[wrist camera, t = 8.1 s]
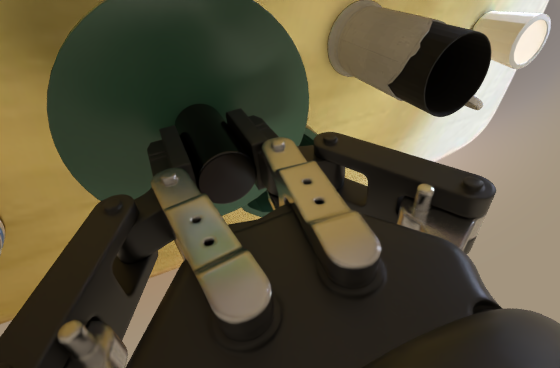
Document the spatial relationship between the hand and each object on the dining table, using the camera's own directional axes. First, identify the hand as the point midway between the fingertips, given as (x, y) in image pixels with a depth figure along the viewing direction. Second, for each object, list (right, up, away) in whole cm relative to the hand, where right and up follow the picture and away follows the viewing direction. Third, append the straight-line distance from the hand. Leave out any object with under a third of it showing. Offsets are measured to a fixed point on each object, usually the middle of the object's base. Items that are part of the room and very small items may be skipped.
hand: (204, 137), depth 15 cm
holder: (+15, +15, +26) cm, 34 cm away
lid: (-1, +1, +1) cm, 2 cm away
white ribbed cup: (+33, +20, +33) cm, 51 cm away
